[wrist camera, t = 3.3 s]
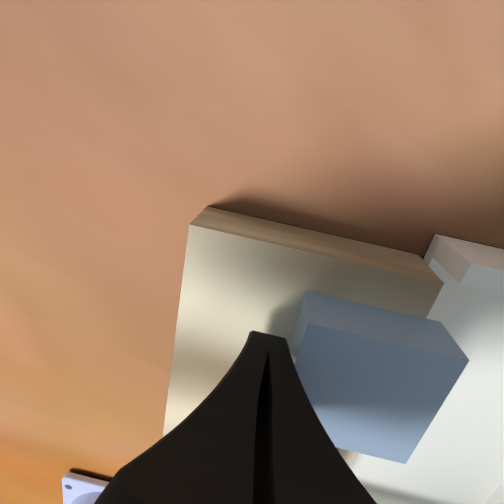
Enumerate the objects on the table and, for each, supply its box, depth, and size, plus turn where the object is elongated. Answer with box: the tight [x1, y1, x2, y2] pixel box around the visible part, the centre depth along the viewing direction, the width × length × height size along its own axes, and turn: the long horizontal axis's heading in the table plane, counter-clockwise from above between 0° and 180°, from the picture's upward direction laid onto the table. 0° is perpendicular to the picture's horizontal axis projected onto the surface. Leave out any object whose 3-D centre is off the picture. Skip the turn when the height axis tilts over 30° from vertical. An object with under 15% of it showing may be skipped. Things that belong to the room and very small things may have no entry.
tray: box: [350, 234, 504, 504], centre depth 15 cm, size 16×9×3 cm, turn 169°
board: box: [163, 206, 444, 467], centre depth 15 cm, size 14×9×2 cm, turn 169°
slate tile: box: [288, 291, 470, 464], centre depth 12 cm, size 5×5×2 cm
